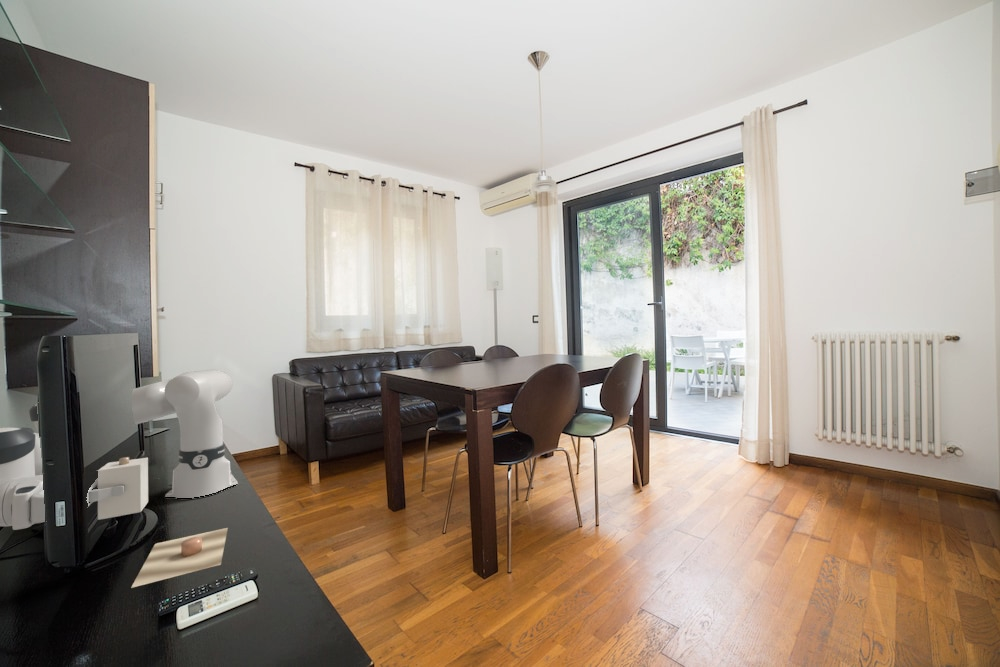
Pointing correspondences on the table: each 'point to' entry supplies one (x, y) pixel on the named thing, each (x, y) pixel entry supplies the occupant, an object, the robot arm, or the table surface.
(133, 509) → the tall white canister
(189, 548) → the egg
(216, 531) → the mat
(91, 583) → the table surface
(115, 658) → the table surface
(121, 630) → the table surface
